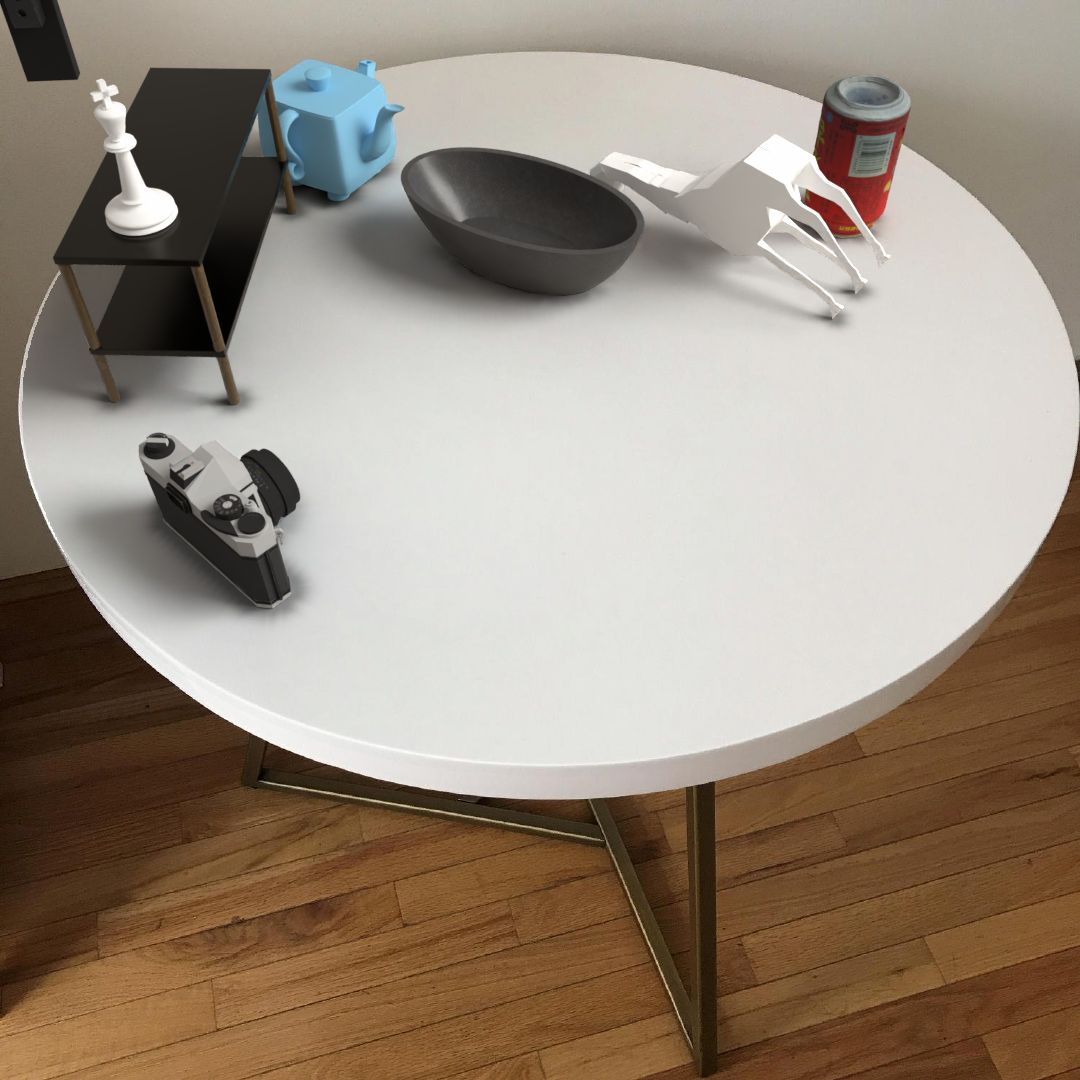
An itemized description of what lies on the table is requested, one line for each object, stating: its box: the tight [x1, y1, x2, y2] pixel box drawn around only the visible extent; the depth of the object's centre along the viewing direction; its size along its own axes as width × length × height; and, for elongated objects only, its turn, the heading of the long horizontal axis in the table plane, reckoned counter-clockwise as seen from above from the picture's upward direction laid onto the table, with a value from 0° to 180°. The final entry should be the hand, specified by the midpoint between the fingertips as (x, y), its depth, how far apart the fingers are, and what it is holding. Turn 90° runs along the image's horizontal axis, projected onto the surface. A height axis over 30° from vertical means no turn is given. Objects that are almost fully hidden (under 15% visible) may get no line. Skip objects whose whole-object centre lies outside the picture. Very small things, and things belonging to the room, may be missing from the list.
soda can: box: [804, 74, 912, 239], centre depth 99 cm, size 7×7×12 cm
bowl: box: [400, 146, 646, 296], centre depth 97 cm, size 12×22×6 cm, turn 60°
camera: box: [138, 432, 301, 610], centre depth 77 cm, size 13×8×9 cm, turn 49°
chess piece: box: [89, 78, 178, 236], centre depth 78 cm, size 5×5×10 cm
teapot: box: [257, 58, 405, 202], centre depth 105 cm, size 18×14×10 cm
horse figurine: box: [588, 133, 892, 320], centre depth 97 cm, size 5×16×25 cm
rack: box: [52, 67, 298, 406], centre depth 92 cm, size 26×10×13 cm, turn 178°
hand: (77, 21), depth 68 cm, fingers open, 13 cm apart
